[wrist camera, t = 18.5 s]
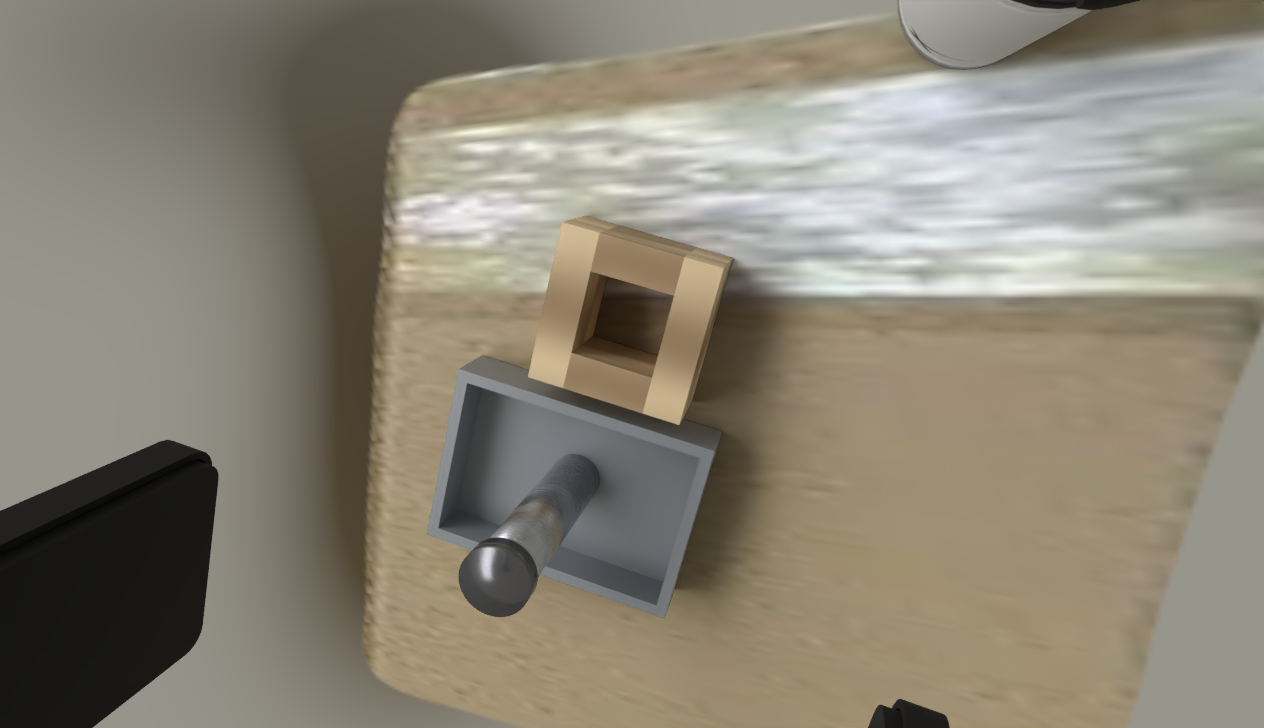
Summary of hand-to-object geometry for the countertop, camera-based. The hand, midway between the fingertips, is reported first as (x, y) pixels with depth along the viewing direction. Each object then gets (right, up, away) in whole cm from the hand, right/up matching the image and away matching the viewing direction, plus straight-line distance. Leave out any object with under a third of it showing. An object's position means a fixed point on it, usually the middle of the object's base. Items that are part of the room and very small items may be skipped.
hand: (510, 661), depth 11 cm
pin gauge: (-1, -2, +36) cm, 36 cm away
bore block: (+2, +7, +33) cm, 34 cm away
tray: (-1, -2, +36) cm, 36 cm away
